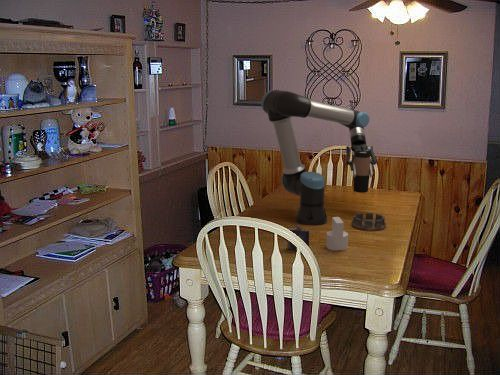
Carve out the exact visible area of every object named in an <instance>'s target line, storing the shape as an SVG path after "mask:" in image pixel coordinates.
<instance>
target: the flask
mask: <svg viewBox="0 0 500 375" xmlns="http://www.w3.org/2000/svg"><path fill="white" fill-rule="evenodd" d="M295 226H296V228H294V227H293V228H291V227H290V228H287V229H289V230H290V231H292V232H293V233H295V234H296V235H297V236H299V237H300V238H301V239H302V240H303V241H304V242H305V243H306V244H307V245H308V246H309V247H310V230H309V229H306V228H302V227H301V224H297V225H295ZM286 243H287V244H286V249H287V250H289V249H290V251H296V247H295V246H294V245H293V244H292V243H290V242H289V241H287V240H286ZM291 249H293V250H291Z"/></svg>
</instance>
